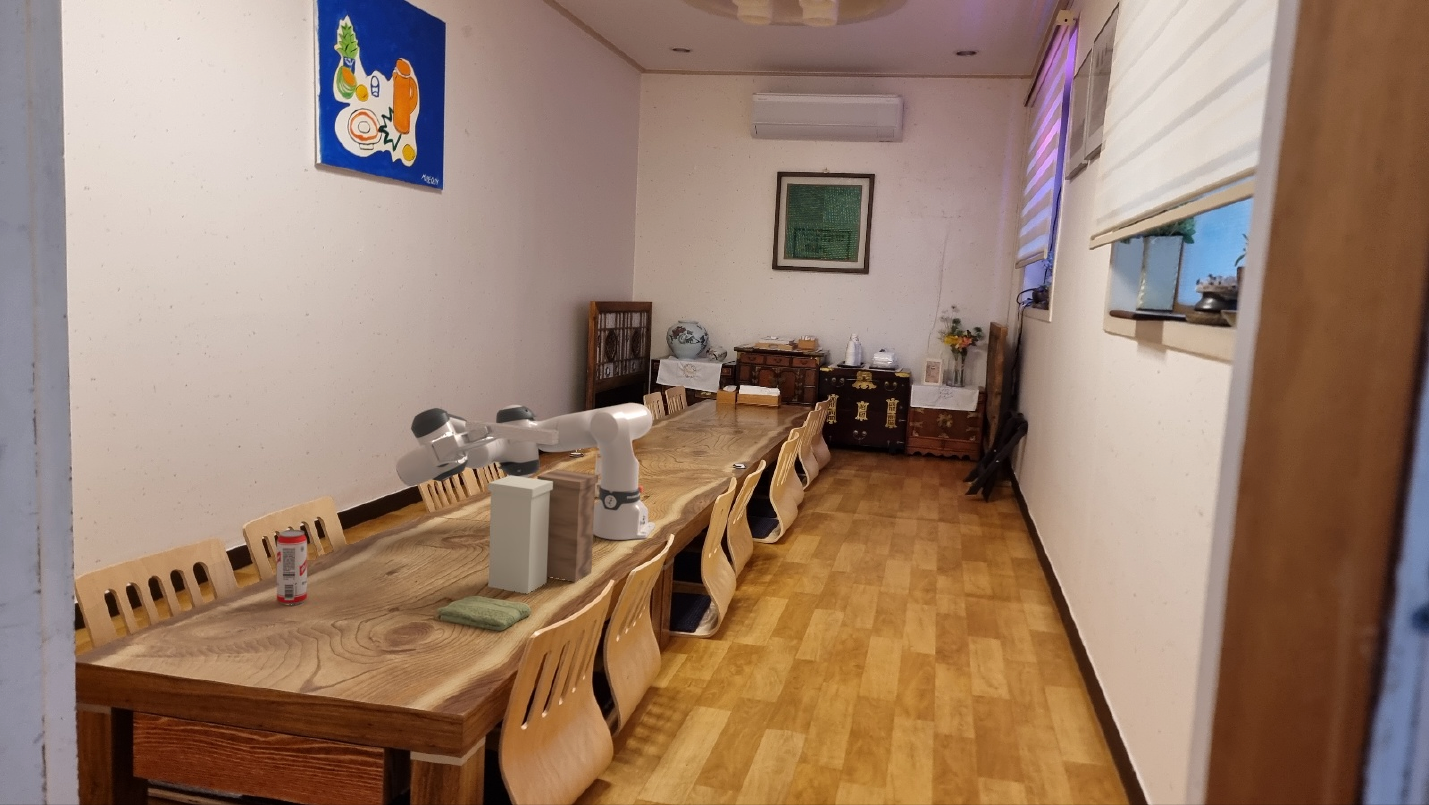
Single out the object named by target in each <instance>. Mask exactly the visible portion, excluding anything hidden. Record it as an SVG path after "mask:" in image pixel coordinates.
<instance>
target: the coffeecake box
mask: <svg viewBox="0 0 1429 805" xmlns="http://www.w3.org/2000/svg"><path fill="white" fill-rule="evenodd" d="M594 466H595V467H594V474H595V475H598V483H596V484H595V498H599V487H600V486H601V456H600V451H599V447H598V446H596V447H595V465H594Z"/></svg>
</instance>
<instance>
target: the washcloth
mask: <svg viewBox="0 0 1429 805" xmlns="http://www.w3.org/2000/svg"><path fill="white" fill-rule="evenodd" d="M436 613H437V615H439V616H440V618H439V619H440V621H443V622H449V623H454V624H459V625H465V626H471V627H474V628H481V629H486V630H487V629H488V630H493V631H498V632H501V631H504V630H507V629H508V628H509V627H512V626H514V625H515V623H517V622H518V621H519V620H520V621H522V620H524V619H526V618H527V616H528V617H529V616H530V615H531V614H532V609H531V608H530V606H529V605H528V604H527V603H525V602H513V601H509V600H507V599H498V598H497V599H496V598H491V597H490V598H489V597H485V596H480V595H471V596H466V597H464V598H462V599H458V600H455V601H451V602H450V603H449V604H448V605H447V606H442V607H439V608H437V610H436ZM525 617H526V618H525ZM521 619H522V620H521Z"/></svg>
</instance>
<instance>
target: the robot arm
mask: <svg viewBox="0 0 1429 805" xmlns="http://www.w3.org/2000/svg"><path fill="white" fill-rule="evenodd" d="M536 417H537V418H538V417H539V415H538V414H536V413H534V412H533V411H532V410H531V408H528V407H527V406H526V405H525V406H524V405H520V404H511V405H506V406H505V407H503V408H502V409H500V410H498V412H497V413H496V417H495V423H500V424H508V425H516V426H524V427H532V428H540V429H548V430H556V431H559V434H558V443H557V444H554V445H548V444H540V443H533V442H525V441H517V440H510V439H502V438H494V437H487V436H484V435H487V434H488V433H490V430H489V427H488V426H486V427H483V428H481V429H478V430H476V431H467V432H465V422H466V421H467V419H465V418H464V417H461V416H457V415H455V414H451V413H448V411H447V410H444V409H442V408H439V407H434V408H428V409H425V410H424V411H421V412H419V413H418V414H416V415H415V416H414V418H413V420H412V423H411V426H410V430H411V432H412V434H413V436H414V437H415V439H416V440H417V443H418V446H417V447H415V448H413V449H412V450H410V451H408V452H407V453H406V454H404V455H403V456H401V457H400V458H399V459H398V460H397V461H396V463H395V469H396V472H397V475H398V477H399V479H400V481H401V482H402V483H403V484H404V485H406V486H407V487H415V486H417V485H421V484H423V483H426V482H428V481H431V480H432V481H436V482H440V483H441V482H444V481H448V479H450V478H452V477H453V476H456V475H458V474H461V473H463V472H464V471H465V470H466V468H468V469H471V470H473V469H474V470H475V469H482V468H486V467H489V466H490V465H492V464H494V463H498V464H499V466H497V468H498V469H499V470H502V471H503V472H504V473H505V474H506V475H507V476H510V475H511V476H518V477H526V478H530V477H531V476H533V475H534V474H537V472H538V471H539V470H540V467H541V465H540V464H541V461H540V459H539V450H541V451H543V452H548V453H561V452H562V453H563V452H569V451H576V450H584V449H588V448H589V449H590V448H596V446H598V447H599V451H600V456H601V486H600V487H599V497H598V501H596V502H594V523H593V536H596V537H598V538H602V539H607V540H614V541H615V540H616V541H617V540H618V541H620V540H621V541H624V540H627V541H628V540H634V539H647V537H649V535H650V534H651V533H652V532H653V530H654V528H656V523H655V522H653V521H649V509H648V507H647V506H646V505H645V504H644V503H643V502H642V500H641V494H642V493H643V491H644V487H643V486H642V485H641V486H639V471H640V463H639V460H638V459H637V457H636V456H635V453H634V448H633V441H634V440H637V439H641V438H642V437H643V436H644V435H646V434H647V433H648V432H649V431H650V430H651V428H652V426H653V423H654V422H653V414H652V412H651V411H650V409H649V408H648V407H647V406H646V405H643V404H641V403H637V402H636V403H635V402H628V403H621V404H617V405H611V406H606V407H601V408H595V409H589V410H585V411H583V410H582V411H578V412H573V413H566V414H562V415H558V416H554V417H551V418H547V419H544V420H539V421H538V420H536V419H535V418H536Z"/></svg>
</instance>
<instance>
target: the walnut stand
mask: <svg viewBox="0 0 1429 805" xmlns="http://www.w3.org/2000/svg"><path fill="white" fill-rule="evenodd" d="M536 479H540V480H547V481H553V489H552V490H550V500H549V527H548V553H547V577H553V578H559V579H565V580H569V581H573V582H572V583H575V582H576V581H577V582H578V580H579V579H580V580H582V579H583V578H582V577H584V578H585V577H587V576H588V575H590V574H591V573H592V569H593V568H592V565H593V564H592V563H593V545H594V542H593V540H594V534H593V523H594V506H595V500H596V497H595V484H596V483H598V475H595V473H588V472H582V471H581V472H580V471H575V470H574V471H573V470H566V469H565V470H564V469H559V468H557V469H553V470H550V471H548V472H545V473H542V474H539V475H537V478H536ZM581 578H582V579H581ZM580 580H579V581H580ZM569 581H568V582H569ZM577 582H576V583H577Z"/></svg>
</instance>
